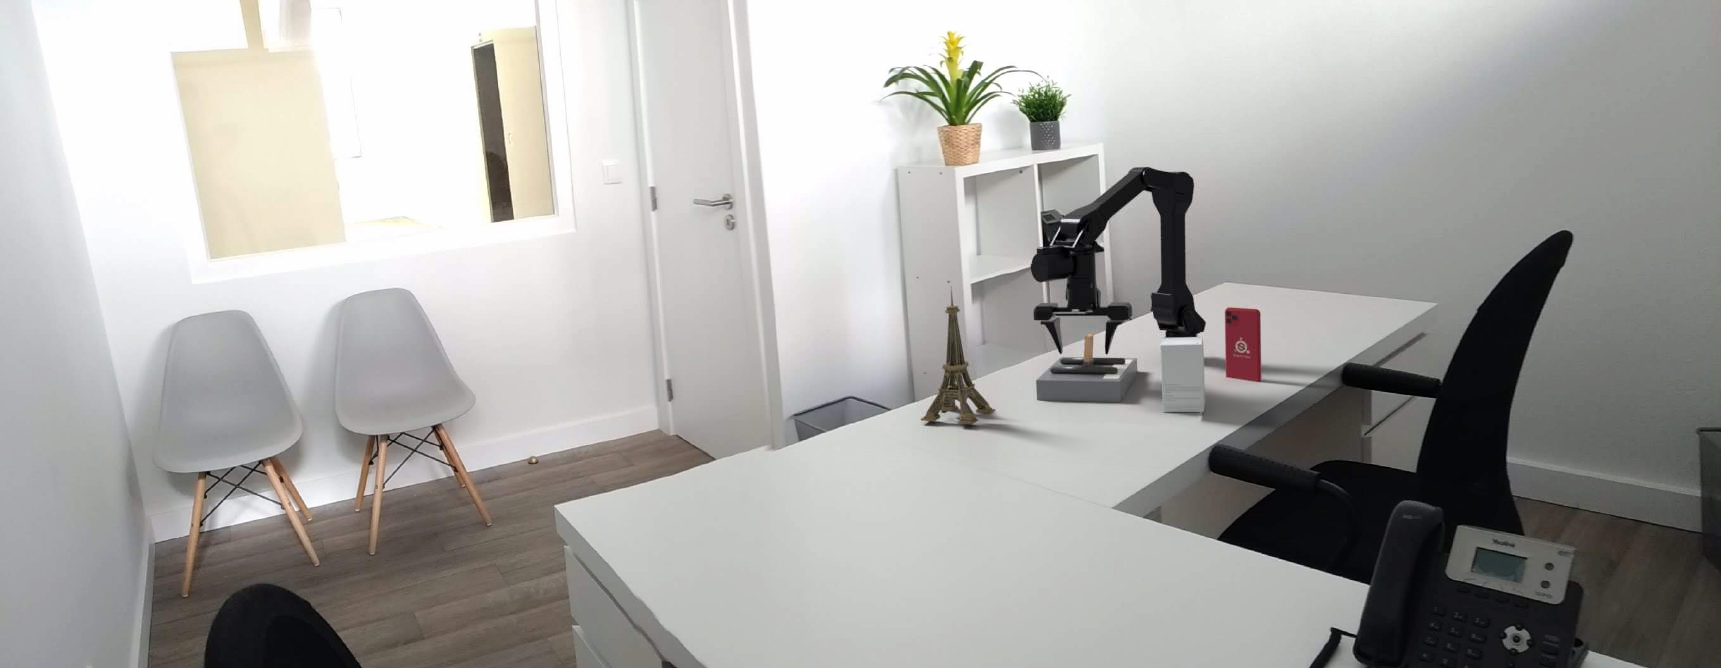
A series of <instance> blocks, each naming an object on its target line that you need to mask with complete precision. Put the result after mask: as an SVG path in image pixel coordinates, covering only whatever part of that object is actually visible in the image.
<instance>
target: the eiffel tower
mask: <svg viewBox="0 0 1721 668" xmlns="http://www.w3.org/2000/svg"><path fill="white" fill-rule="evenodd" d="M952 290H953V289H952V287H950V305H948V306H946V307H945V311H944V313H945V314H948V321H947V324H948V325H947V338H946V339H947V340H946V341H947V342H946V356H945V357H946V360H945V363H943V364H942V369H943V370H944V375H943V379H942V383H941V386H940V387H939V388H937V390H938V391H939V392H938V394H937V395H936V397H935V398H934V400H933V401H932V403H931V405H930V406H929V407H928V409H927V410H926V412H925V413H926V414H925V415H924V416H923V417H921V418H920V421H924V422H936V421H937V420H939V419H941V414H939V413H940V412H953V411H955V410H957V409H959V407H960V418H959V419H958V424H964V425H973V424H975V423H977V422H979V418H977V416H975V413H976V414H978V413H979V414H991V413H992V412H994V411H996V408H993V407H992V406H990V404H989V402H987V400H986V399H985V398H984V397H983V395H982V394H980V393H981V392H979V391H978V390H977V389H976V388H975V385H976V383H973V381H972V379H971V378H970V375H969V371H968V368H967V367H969V366H970V365H969V361H968V360H966V361H965V355H964V350H963V342H962V339H961V338H962V337H961V334H960V333H961V332H960V325H959V320H958V319H959V318H958V313H959V312H960V311H961V309H960V308H959V305H954V299H953V291H952ZM968 399H969V400H970V401H971V402H972V403H973V404H974V405H973V406H975V407H976V409H975V413H974V411H973V410H972V408H971V407H970V405H969V404H968V401H967V400H968ZM956 401H958V402H959V406H958V405H957V404H956Z"/></svg>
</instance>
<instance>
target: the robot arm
mask: <svg viewBox="0 0 1721 668" xmlns="http://www.w3.org/2000/svg"><path fill="white" fill-rule="evenodd" d="M1194 190H1195V183H1194V178H1193V176H1191V175H1190V174H1189V173H1188V172H1187V171H1165V170H1159V169H1156V168H1152V167H1150V166H1137V167H1136V166H1135V167H1133V168H1131V169H1129V171H1127V174H1125V175H1124V176H1123V177H1122V178H1121V179H1120V180H1118V181H1117V182H1115V183H1114V184H1113V185H1112V186H1110V188H1108V189H1107V190H1106V191H1105V192H1104V193H1102V194H1101V195H1100V196H1099V197H1097V198H1096V199H1095V200H1094V201H1093V202H1091V203H1089V204H1087V205H1084V206H1081V207H1078V208H1076V209H1074V210H1073V211H1071V212H1069V213H1067V214H1065V215H1064V216H1063V217H1062V218H1061V220H1060V221H1059V222H1060V225H1059V228H1058V230H1057V232H1056V234H1055V235H1054V236H1053V239H1052V241H1051V243H1050V244H1049V246H1045V247H1044V246H1039V247H1036V254H1034V255H1033V257H1032V259H1031V264H1030V272H1031V274H1032V278H1033V279H1034V280H1035V281H1036V282H1037V283H1047V282H1054V281H1055V282H1056V281H1060V280H1061V281H1062V280H1066V288H1065V300H1066V301H1067V304H1066V306H1059V304H1058V302H1041V303H1039V304H1038V305H1036V306H1035V307H1034V308H1033V312H1032V313H1033V320H1034V321H1040V322H1039V324H1040V325H1044V326H1045V327H1046V329H1047V331H1048V332H1049V334H1050V336H1051V337H1052V340H1053V343H1054V345H1055V347H1056V349H1057V351H1058V353H1059V355H1062V354H1063V350H1064V349H1063V339H1062V332H1061V317H1107V318H1108V320H1106V322H1105V335H1104V336H1105V339H1104V341H1105V342H1104V353H1105V355H1108V354H1109V352H1110V348H1111V345H1112V341H1113V339H1114V336H1115V332H1116V331H1117V329H1118V326H1119V325H1122V324H1123V323H1124V322H1125V321H1128V320H1129V319H1130V318H1131V317H1132V316H1133V307H1132V304H1131V303H1130V302H1125V301H1123V302H1121V301H1120V302H1117V301H1116V302H1115V301H1114V302H1113V301H1111V303H1109V304H1108V305H1107V306H1101V304H1102V303H1101V301H1102V300H1101V299H1102V297H1101V296H1102V292H1101V290H1100V289H1099V287H1098V285H1097V269H1096V267H1097V266H1096V265H1097V264H1096V254H1097V253H1104V252H1105V248H1104V247H1103V246H1101V245H1100V244H1099V243H1098V242H1097V240H1098V239H1099V237H1100V236H1101V235H1102V233H1103V232H1104V231H1105V230H1106V228H1107V224H1108V222H1109V220H1111V218H1113V217H1114V216H1115V215H1116V214H1117V213H1119V212H1120V211H1121V210H1122V209H1124V208H1125V207H1126V206H1127V205H1128V204H1130V202H1131V201H1133V200H1134V199H1136V197H1138V196H1139V195H1140V194H1141V193H1143V192H1148V193H1151V199H1152V202H1153V205H1154V208H1156V210H1157V212H1158V214H1159V216H1160V217H1159V218H1160V222H1159V223H1160V274H1161V275H1160V277H1161V280H1160V281H1161V282H1160V285H1159V288H1158V289H1157V291H1155V292H1151V294H1150V300H1151V307H1150V312H1151V313H1152V316H1153V319H1154V320H1155V321H1156V323H1157V327H1158V330H1159V331H1165V332H1164V333H1165V336H1164V337H1163V338H1179V337H1199V334H1200V333H1204V332H1205V328H1206V325H1207V322H1206V320H1205V319H1204V318H1203V317H1202V316H1201V315H1200V314H1199V313H1198V311H1197V310H1196V307H1195V299H1194V296H1193V294H1192V292H1191V290H1190V288H1189V286H1188V285H1187V274H1186V273H1187V271H1186V269H1187V268H1186V267H1187V266H1186V264H1187V263H1186V261H1187V259H1186V257H1187V256H1186V253H1187V252H1186V214H1187V212H1188V210H1189V209H1190V206H1191V205H1192V203H1193V199H1194V192H1195V191H1194ZM1073 310H1074V311H1073ZM1076 310H1077V311H1076Z"/></svg>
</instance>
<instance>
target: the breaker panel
mask: <svg viewBox="0 0 1721 668" xmlns="http://www.w3.org/2000/svg"><path fill="white" fill-rule="evenodd" d="M1093 359H1094V364H1093V365H1092V366H1091V367H1082V364H1083V363H1084V356H1083V357H1082V356H1081V357H1076V356H1075V357H1070V356H1068V357H1067V356H1066V357H1065V356H1063V357H1060V358H1059V359H1057V360H1056V361H1055V362H1054V363H1053V364H1052V365H1051V366H1050V367H1048V369H1046V370H1045V371H1044V372H1043V373H1041V375H1040V376H1039V377H1038V378H1037V379H1036V380H1035V381H1036V382H1035V385H1036V387H1035V388H1036V389H1035V391H1036V400H1037V401H1061V402H1062V401H1063V402H1064V401H1065V402H1095V403H1096V402H1097V403H1101V402H1102V403H1105V402H1106V403H1121V402H1122V400H1123V397H1124V396H1125V395H1126V393H1127V392H1128V388H1129V387H1130V385H1131V383H1132V382H1133V380H1134V378H1135V376H1136V375H1137V373H1138V359H1137V357H1136V358H1135V357H1134V358H1132V357H1130V358H1129V357H1127V358H1126V357H1093ZM1135 374H1136V375H1135ZM1125 392H1126V393H1125Z"/></svg>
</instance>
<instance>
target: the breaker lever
mask: <svg viewBox="0 0 1721 668" xmlns="http://www.w3.org/2000/svg"><path fill="white" fill-rule="evenodd" d="M1093 355H1094V333H1093V334H1092V333H1087V334H1086V336H1085V337H1084V350H1083V358H1084V363H1083V364H1082V367H1091V366H1092V365H1093V364H1094V359H1093V358H1094V356H1093Z"/></svg>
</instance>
